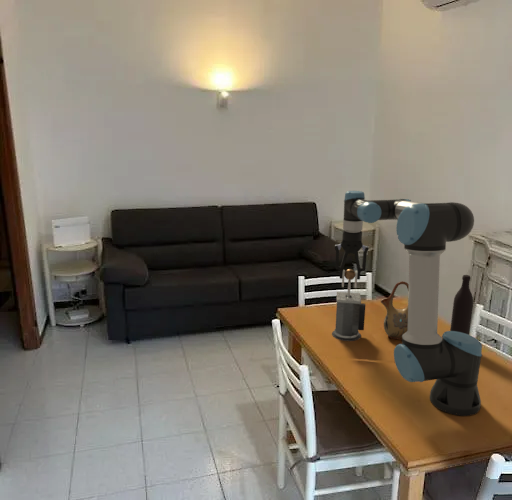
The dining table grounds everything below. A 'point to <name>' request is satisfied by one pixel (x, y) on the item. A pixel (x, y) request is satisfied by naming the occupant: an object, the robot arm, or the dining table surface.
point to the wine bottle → (462, 308)
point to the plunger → (349, 279)
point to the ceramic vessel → (395, 316)
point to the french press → (349, 316)
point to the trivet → (346, 340)
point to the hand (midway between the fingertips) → (349, 286)
